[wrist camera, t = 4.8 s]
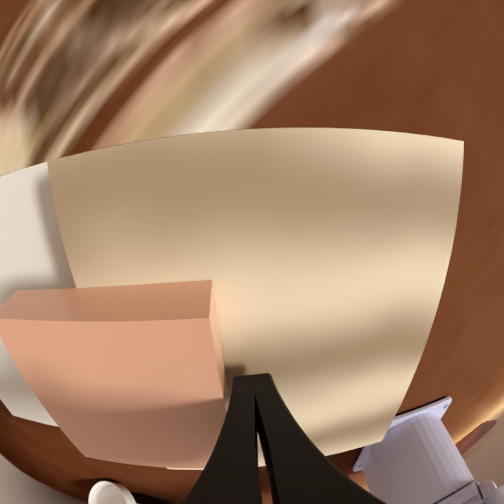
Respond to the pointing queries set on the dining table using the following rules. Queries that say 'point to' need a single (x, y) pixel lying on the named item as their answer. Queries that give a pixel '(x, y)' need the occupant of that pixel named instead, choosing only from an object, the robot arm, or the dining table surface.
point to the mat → (28, 267)
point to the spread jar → (118, 495)
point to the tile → (125, 368)
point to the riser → (282, 253)
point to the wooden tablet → (474, 436)
